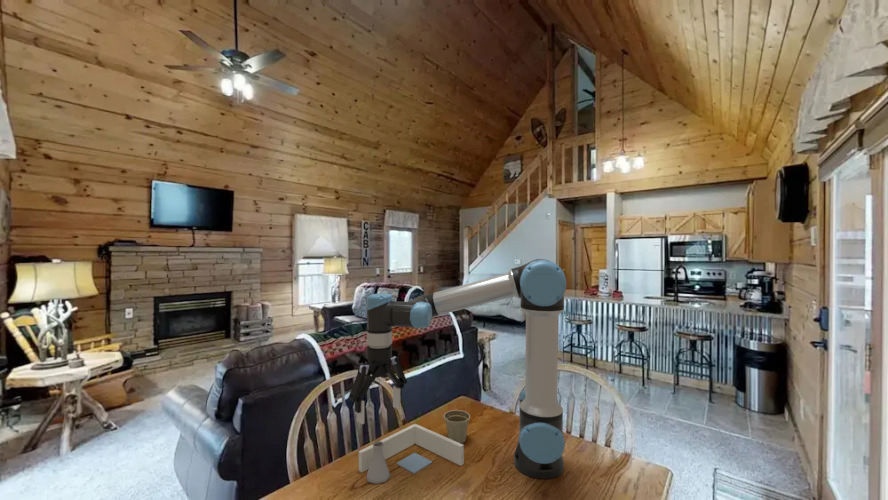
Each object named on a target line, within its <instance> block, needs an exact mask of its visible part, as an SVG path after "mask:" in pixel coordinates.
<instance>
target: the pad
mask: <svg viewBox="0 0 888 500" xmlns="http://www.w3.org/2000/svg"><path fill="white" fill-rule="evenodd" d="M432 463H433V461H432V460H430V459H429V458H427V457H424V456H422V455H420V454H418V453H417V452H413V453H412V454H409V455H408V456H406V457H404V458H403V459H401V460H400V461H397V462H396V465H398V466H399V467H401V468H402V469H405V470H406V471H408V472H409V473H411V474H413V475H415V474H416V473H418V472H420V471H421V470H422V469H424V468H426V467H428V466H429V465H431V464H432Z"/></svg>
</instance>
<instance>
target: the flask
mask: <svg viewBox="0 0 888 500" xmlns="http://www.w3.org/2000/svg"><path fill="white" fill-rule="evenodd" d="M372 444H373V448H374V453H373V458H372V461H371V464H370V467H369V469H368V470H367V473H366V481H367V483H371V484H375V485H377V484H382V483H386V482H387V481H388V480H389V479H390V478H391V474H390V470H389V467H388V465H387V462H386V460H385V458H384V455H383V445H384V444H383V442H381V440H379V441H377V440H376V441H374V442H373V443H372Z"/></svg>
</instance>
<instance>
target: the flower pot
mask: <svg viewBox="0 0 888 500" xmlns="http://www.w3.org/2000/svg"><path fill="white" fill-rule="evenodd" d="M443 419H444V422H445V426H446V431H447V438H449V439H451V440H454V441H456V442H458V443H460V444H464V443H466V442H465V441H466V439H467V435H468V434H467V433H468V432H467V431H468V426H469V425H468V424H469V421H470V419H471V415H470V414H469V412H467V411H465V410H460V409H459V410H458V409H453V410H448V411H447V412H444V414H443Z"/></svg>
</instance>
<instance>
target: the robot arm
mask: <svg viewBox="0 0 888 500" xmlns="http://www.w3.org/2000/svg"><path fill="white" fill-rule="evenodd" d="M566 289H567V277H566V275H565V272H564V271H563V269H562V268H561V266H560V265H558V264H556V263H555V262H553V261H551V260H549V259H543V258H537V259H533V260H531V261H529V262H527V263H525V264H523V265H522V264H521V265H519V266H517V267H513V268H510V269H509V271H508V272H507V273H503V274H499V275H495V276H492V277H488V278H485V279H481V280H476V281H473V282H470V283H465V284H461V285H459V286H458V285H457V286H454V287H451V288H450V287H449V288H447V289H443V290H440V291H435V292H432V293H428V294H421V295H418V296H417V297H415V298H414V299H411V300H409V301H397V300H393V295H392V294H389V293H373V294H369V296H367V299H366V300H367V301H366V345H367V346H366V358H367V363H366V365H361V364H359V365H358V367H357V374H356V376H355V379H354V382H353V384H352V387H351V389H350V392H349V394H348V400H349V401H352V402H354V412H356V422H357V423H359V424H361V425H364V424H365V400H363V399H364V398H365V396H366V394H367V392H368V390H369V389H370V387H371V386H372V384H373V382H374V381H375V380H376V379H377V378H378V379H379V378H380V377H382V376H387V378H389V379H390V381H391V382H392V383H393V384H394V385H393V386H392V407H393V408H394V409H397V410H401V397H402V395H403V393H402V392H403V391H402V390H403V389H404V388H405V385H406V384H407V383H408V380H407V378H406V375H405V373H404V370H403V368H402V366H401V364H400V357H399V356H395V355H393V346H392V344H393V327H394V328H395V327H398V328H413V329H414V328H415V329H423V328H425V329H427V328H429V327H430V326H431V323H432V318H434V317H437V316H438V317H439V316H441V315H445V314H449V313H454V312H456V311H461V310H464V309H465V310H466V309H469V308H474V307H478V306H481V305H485V304H489V303H494V302H497V301H501V300H505V299H509V298H518V299H520V309H521V310H522V312H524V314H525V378H524V379H525V380H524V381H525V384H524V385H525V386H524V387H525V388H524V389H522V390H521V391H519V398H518V401H519V404H518V405H519V422H518V423H519V433H518V441H517V445H516V448H515V450H514V453H513V464H514V466H515V468H516V469H517V470H518V471H519V472H521V473H522V474H524V475H526V476H527V477H531V478H534V479H542V480H548V479H554V478H557V477H559V476H560V475H562V474H563V472H564V469H565V467H564V464H565V463H564V462H565V461H564V457H563V453H564V451H565V445H566V440H565V436H564V432H563V431H564V429H563V427H564V425H563V423H564V422H563V421H564V420H563V419H564V414H563V413H564V408H563V407H562V405H561V404H560V403H559V400H558V358H559V357H558V353H559V351H558V350H559V347H558V343H559V342H558V341H559V338H558V337H559V335H558V333H559V316H560V314H561V313H563V312H564V310H565V306H564V305H565V293H566ZM391 366H392V368H393V370H394V371H393V370H392V368H391Z"/></svg>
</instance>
